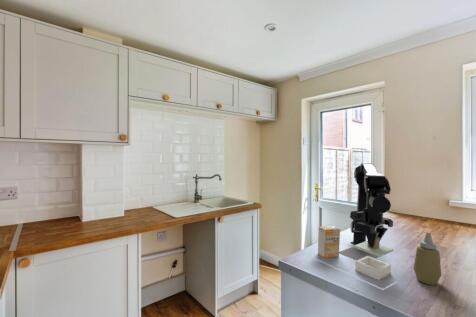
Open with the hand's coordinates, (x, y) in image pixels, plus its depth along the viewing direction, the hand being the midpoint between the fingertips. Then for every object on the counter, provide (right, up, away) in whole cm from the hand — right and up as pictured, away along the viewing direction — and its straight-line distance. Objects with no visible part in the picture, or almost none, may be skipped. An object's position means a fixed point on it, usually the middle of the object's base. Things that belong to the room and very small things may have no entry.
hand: (373, 246), depth 93 cm
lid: (0, -1, 0) cm, 1 cm away
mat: (+2, -10, +16) cm, 19 cm away
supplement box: (-12, -10, +15) cm, 22 cm away
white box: (0, -11, 0) cm, 11 cm away
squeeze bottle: (+17, -11, -5) cm, 21 cm away
